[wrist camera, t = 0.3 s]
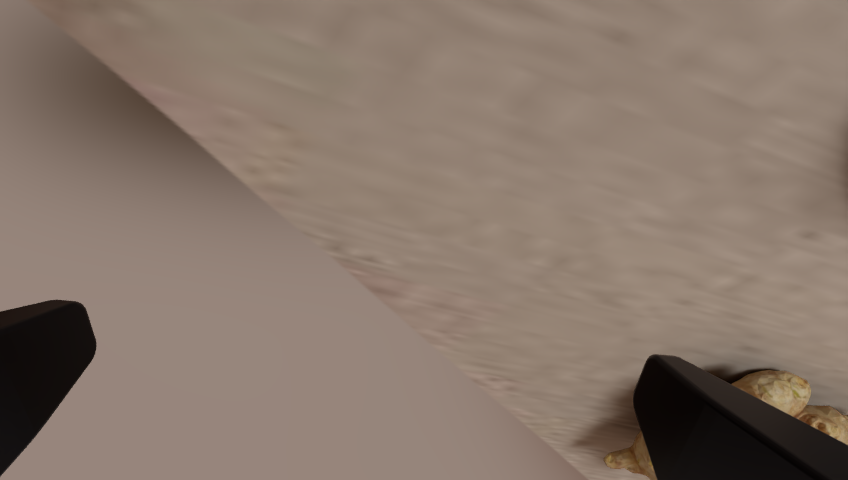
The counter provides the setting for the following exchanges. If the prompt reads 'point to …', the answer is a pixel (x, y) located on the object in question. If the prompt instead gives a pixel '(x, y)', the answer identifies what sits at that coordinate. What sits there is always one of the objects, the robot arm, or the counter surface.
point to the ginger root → (767, 387)
